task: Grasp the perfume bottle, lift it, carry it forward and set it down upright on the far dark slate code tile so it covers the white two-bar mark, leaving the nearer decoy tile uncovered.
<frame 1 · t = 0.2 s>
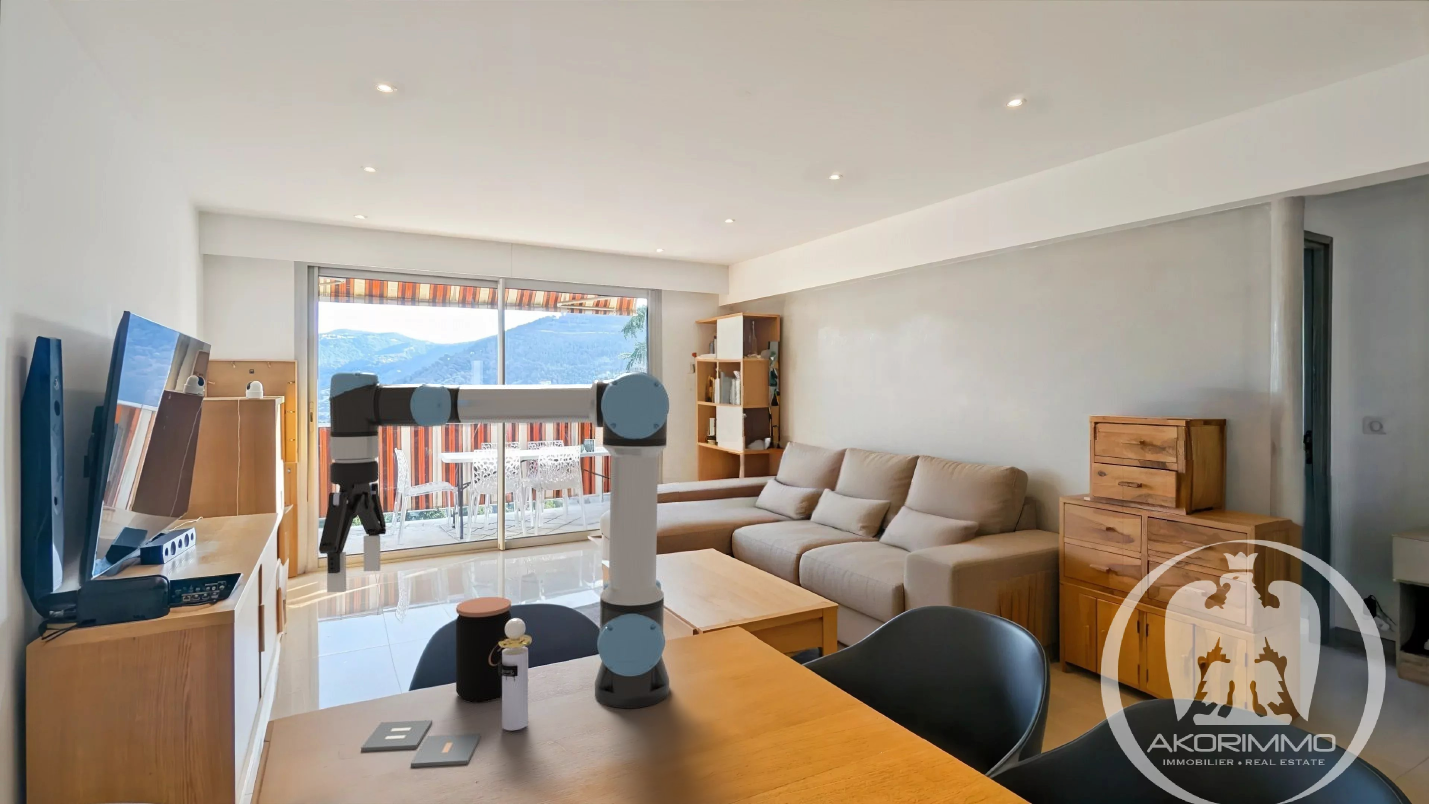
hand: (355, 580, 120), 28 cm above the table, fingers open, 13 cm apart
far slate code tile: (398, 736, 121), on the table
perfume bottle: (515, 729, 124), on the table
coffee jar: (484, 693, 139), on the table
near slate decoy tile: (447, 751, 116), on the table
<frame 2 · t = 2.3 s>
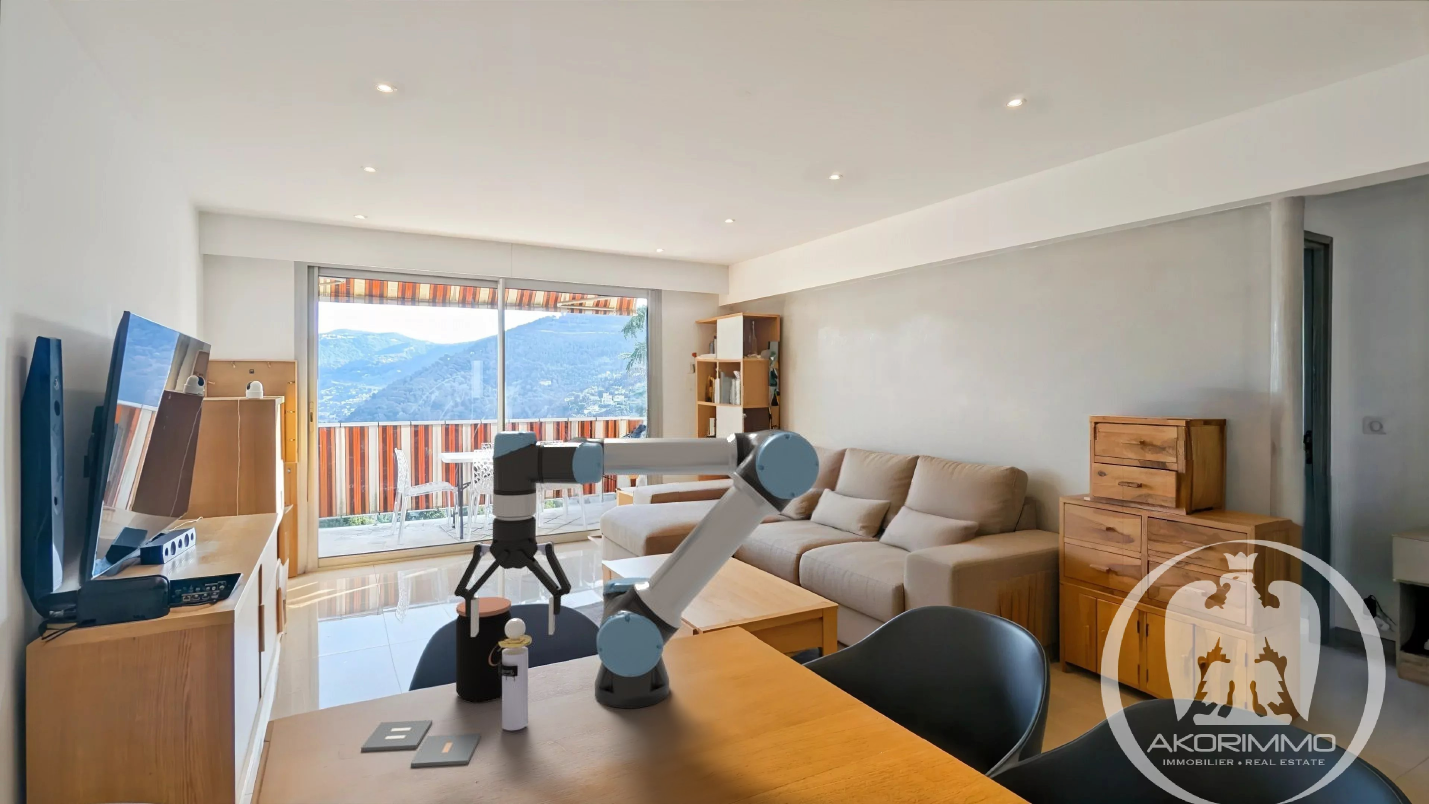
hand: (513, 633, 124), 17 cm above the table, fingers open, 13 cm apart
nothing on the table moved.
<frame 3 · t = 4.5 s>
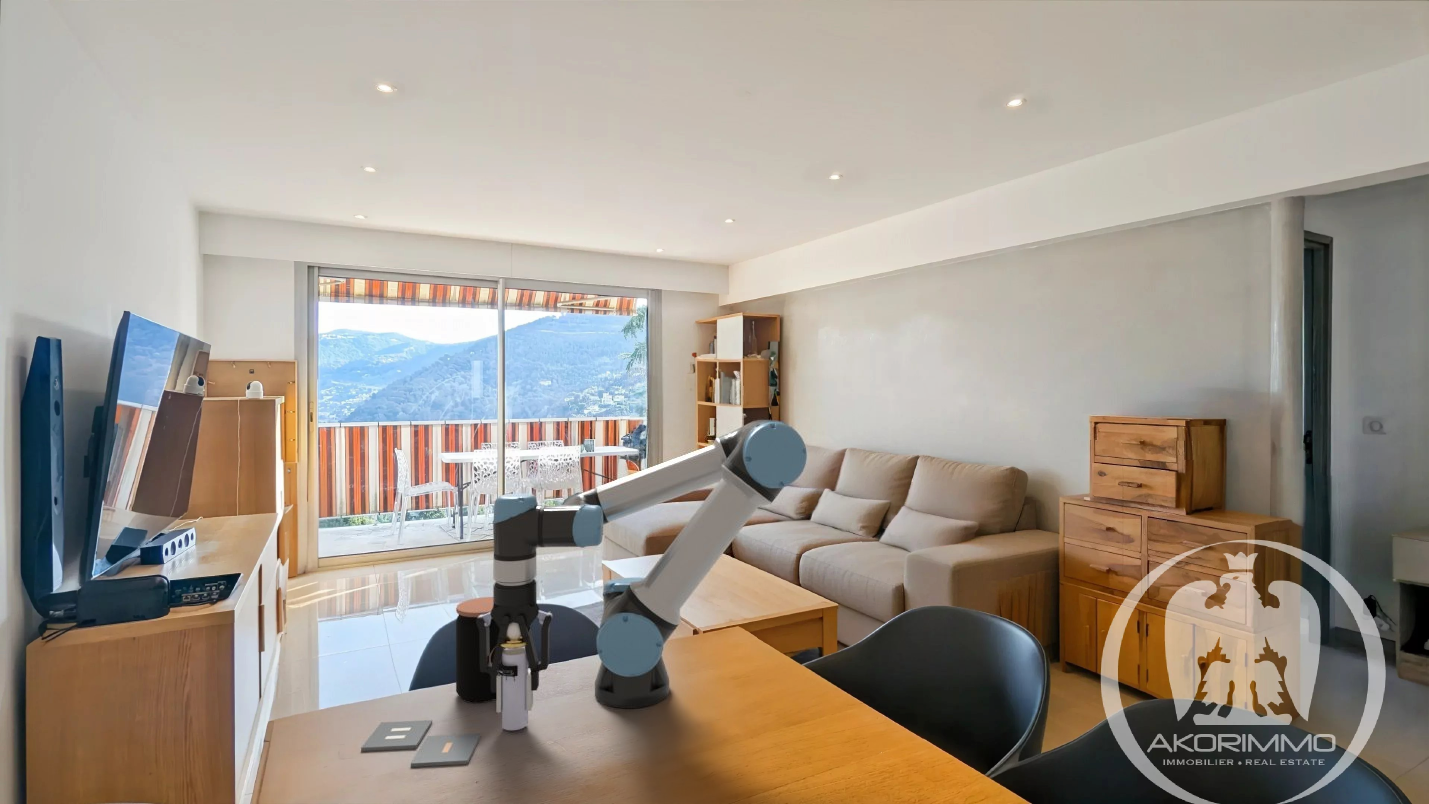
hand: (515, 708, 124), 4 cm above the table, fingers closed on perfume bottle, 4 cm apart
perfume bottle: (515, 729, 124), on the table, touching gripper
everything else where it was.
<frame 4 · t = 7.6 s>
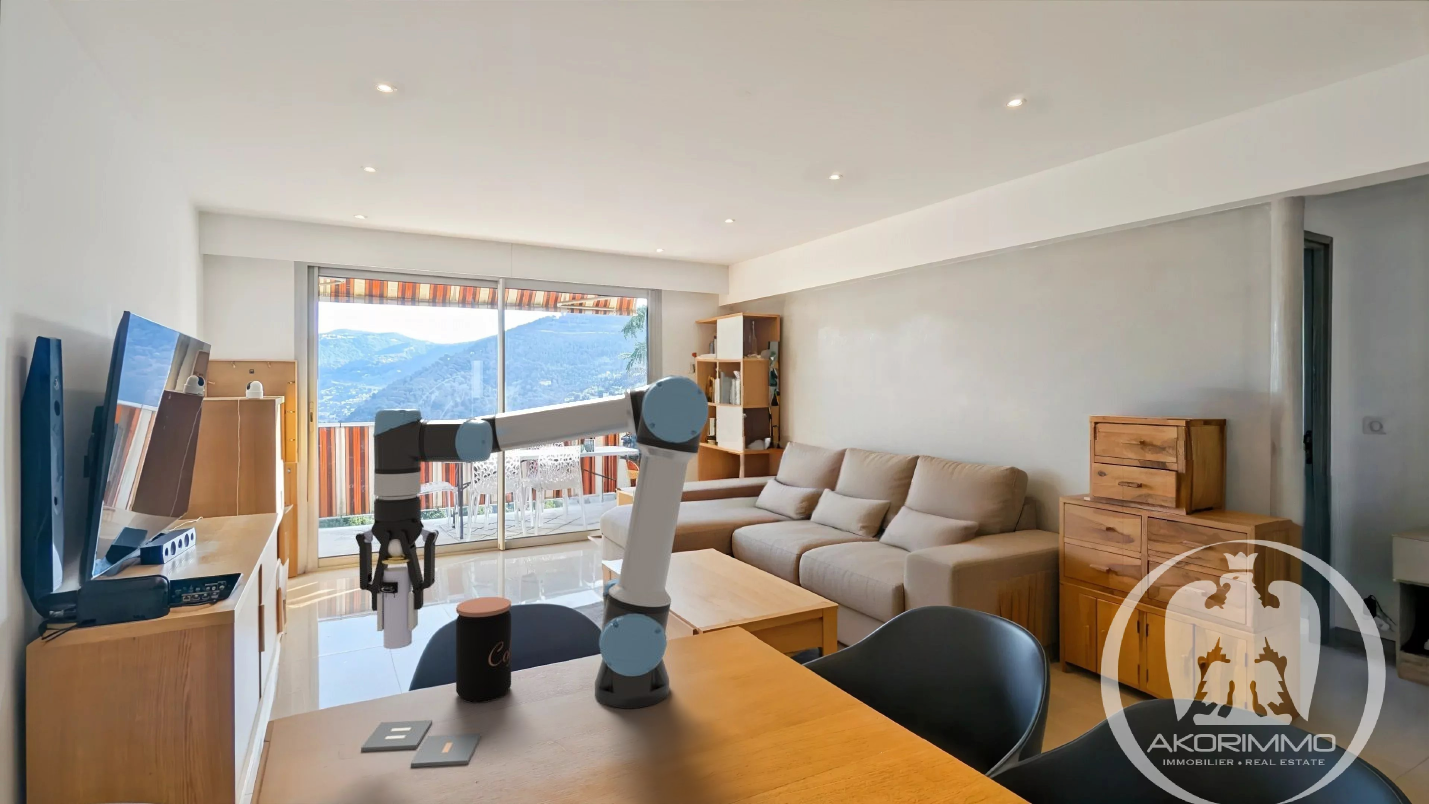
hand: (397, 627, 120), 19 cm above the table, fingers closed on perfume bottle, 4 cm apart
perfume bottle: (397, 649, 121), point 15 cm above the table, touching gripper
everything else where it was.
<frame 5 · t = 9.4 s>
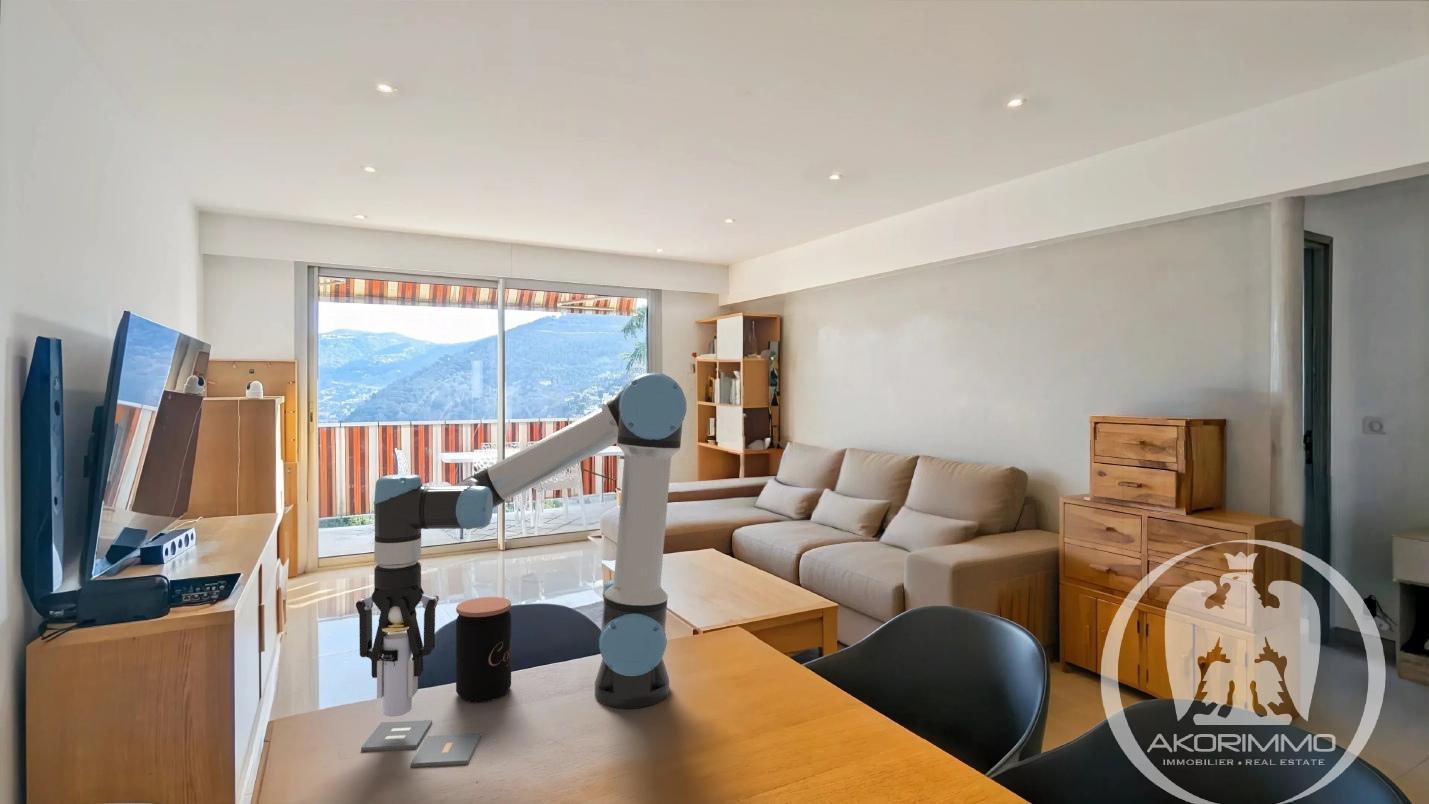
hand: (397, 694, 121), 8 cm above the table, fingers closed on perfume bottle, 4 cm apart
perfume bottle: (397, 716, 121), point 4 cm above the table, touching gripper
everything else where it was.
when the fingers open (5 cm above the table, at t = 10.6 s): perfume bottle stays where it is, resting on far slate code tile.
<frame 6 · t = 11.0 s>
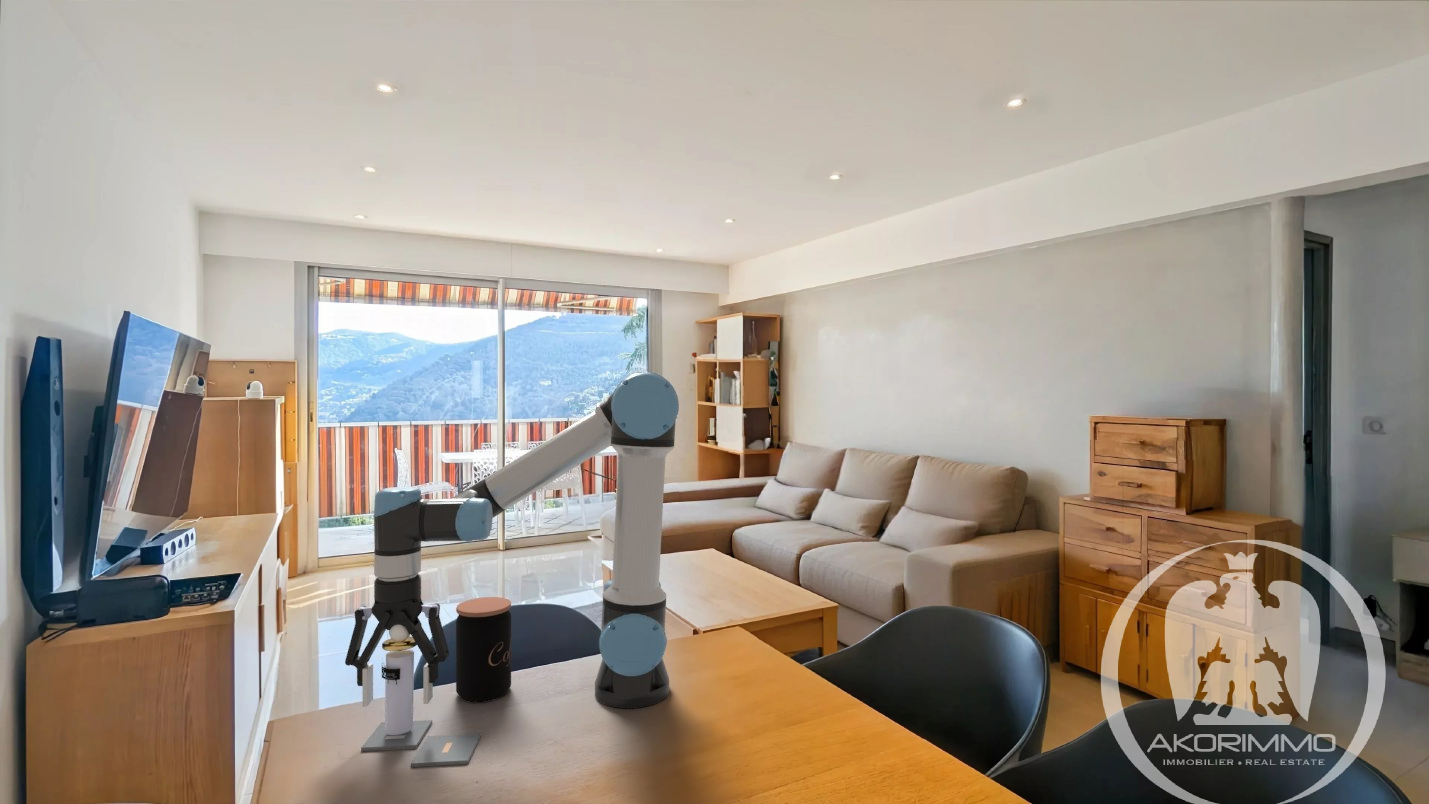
hand: (398, 701, 121), 6 cm above the table, fingers open, 9 cm apart
perfume bottle: (398, 734, 121), resting on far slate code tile
everything else where it was.
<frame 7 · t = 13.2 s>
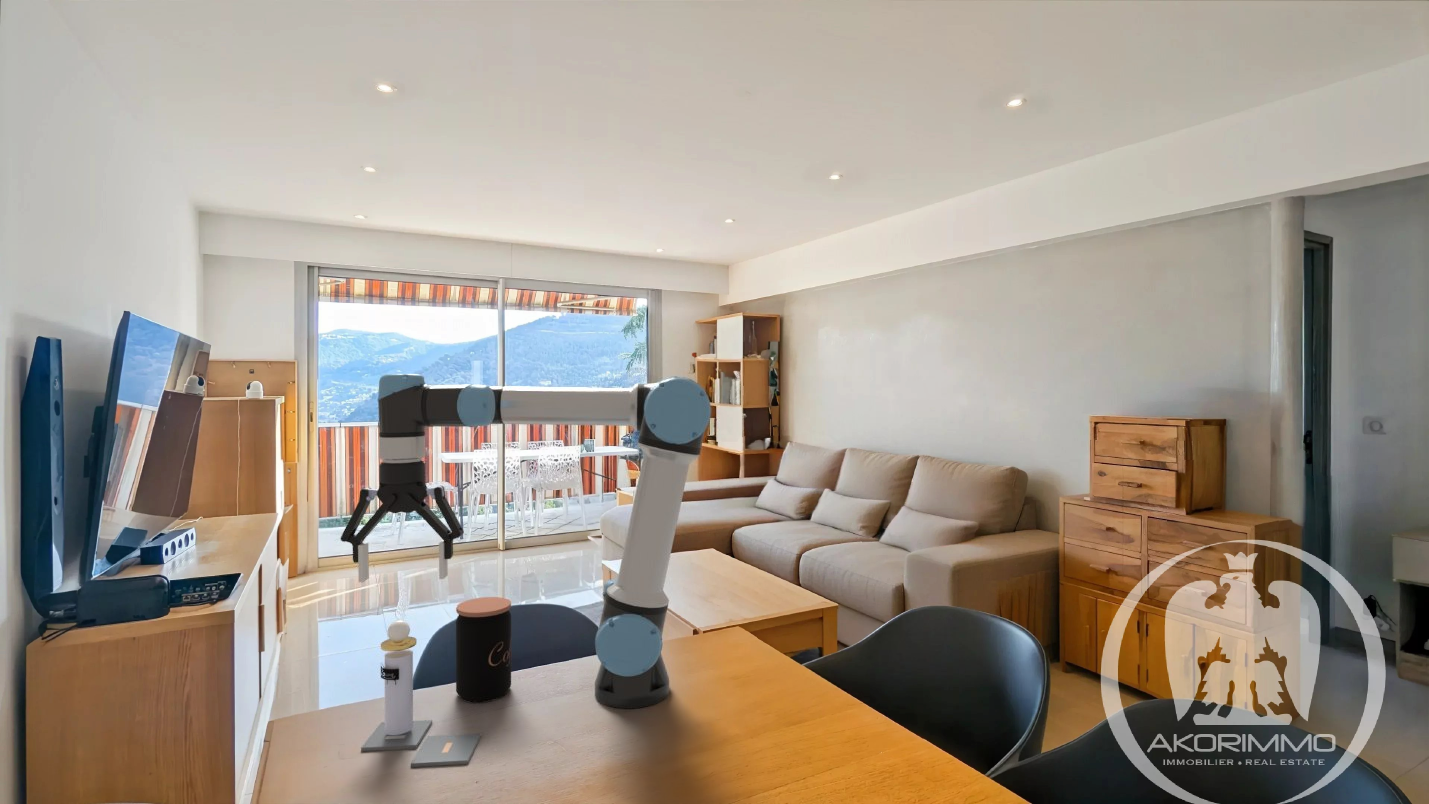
hand: (403, 578, 122), 28 cm above the table, fingers open, 13 cm apart
nothing on the table moved.
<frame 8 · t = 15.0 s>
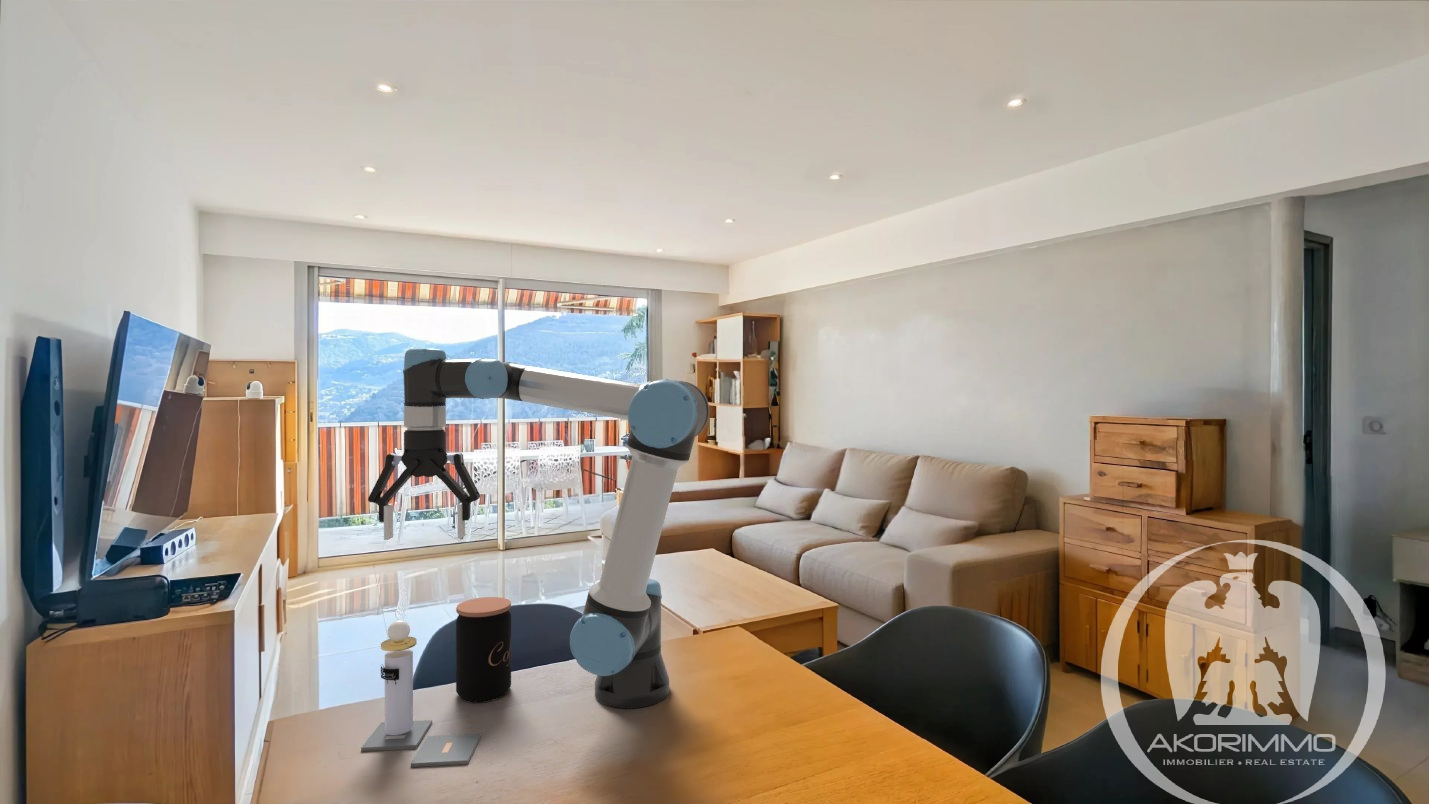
hand: (425, 538, 132), 33 cm above the table, fingers open, 13 cm apart
nothing on the table moved.
at the end: perfume bottle inside the target area on the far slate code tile (0.1 cm from its centre), point 0.4 cm above the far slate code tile's base; perfume bottle tilted 0°; the gripper is holding nothing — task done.
